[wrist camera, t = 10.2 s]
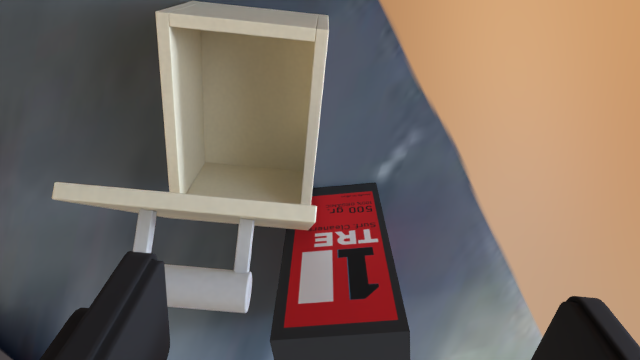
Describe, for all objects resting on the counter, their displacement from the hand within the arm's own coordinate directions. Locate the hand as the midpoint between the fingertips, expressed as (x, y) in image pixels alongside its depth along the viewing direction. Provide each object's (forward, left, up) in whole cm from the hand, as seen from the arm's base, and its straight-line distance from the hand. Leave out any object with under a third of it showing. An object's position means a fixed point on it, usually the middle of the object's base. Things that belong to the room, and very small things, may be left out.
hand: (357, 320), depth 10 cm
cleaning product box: (+22, +3, -32) cm, 39 cm away
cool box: (+5, -7, -32) cm, 33 cm away
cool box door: (+7, -7, -16) cm, 19 cm away
